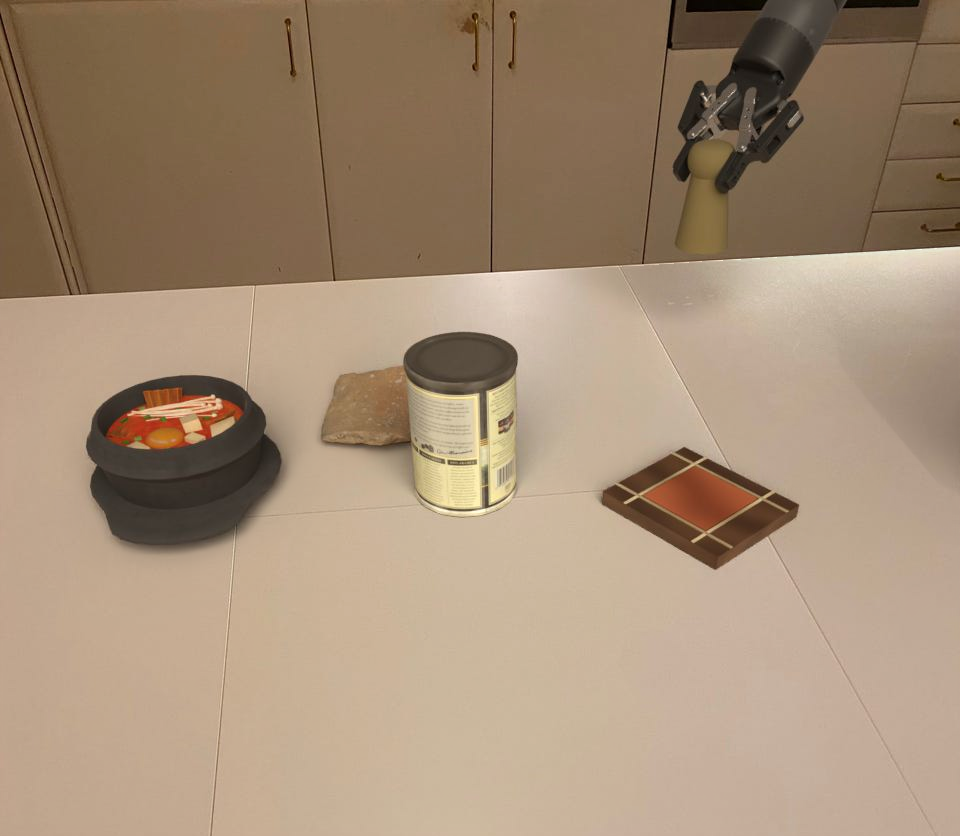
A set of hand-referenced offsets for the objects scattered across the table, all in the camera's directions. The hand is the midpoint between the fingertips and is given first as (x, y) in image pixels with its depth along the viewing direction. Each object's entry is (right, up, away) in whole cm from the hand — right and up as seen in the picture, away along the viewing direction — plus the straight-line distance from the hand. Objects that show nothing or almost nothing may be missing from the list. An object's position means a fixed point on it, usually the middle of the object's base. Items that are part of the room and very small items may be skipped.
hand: (698, 182), depth 108 cm
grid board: (-3, -38, -14) cm, 40 cm away
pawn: (+2, -5, +6) cm, 8 cm away
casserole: (-53, -35, -9) cm, 64 cm away
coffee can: (-25, -35, -10) cm, 45 cm away
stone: (-35, -26, 0) cm, 44 cm away
